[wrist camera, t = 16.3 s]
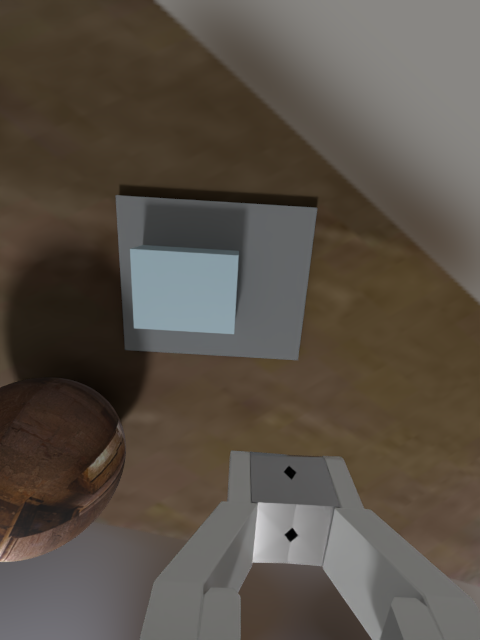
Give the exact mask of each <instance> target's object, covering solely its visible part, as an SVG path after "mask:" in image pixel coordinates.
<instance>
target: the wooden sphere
mask: <svg viewBox="0 0 480 640" xmlns="http://www.w3.org/2000/svg"><path fill="white" fill-rule="evenodd" d="M125 454H126V443H125V435H124V430H123V427H122V424H121V421H120V419H119V417H118V415H117V413H116V411H115V410H114V408H113V407H112V406H111V404H110V403H109V402H108V401H107V400H106V399H105V398H104V397H103V396H102V395H101V394H99V393H98V392H97V391H95V390H94V389H92V388H90V387H88V386H86V385H84V384H82V383H79V382H76V381H73V380H69V379H64V378H55V377H41V378H32V379H26V380H22V381H18V382H14V383H11V384H8V385H6V386H3V387H1V388H0V562H11V561H20V560H25V559H30V558H34V557H37V556H40V555H43V554H45V553H48V552H50V551H52V550H55V549H57V548H59V547H61V546H62V545H64V544H66V543H67V542H69V541H70V540H72V539H73V538H75V537H76V536H78V535H79V534H80V533H81V532H83V531H84V530H85V529H86V528H87V527H88V526H89V525H90V524H91V523H92V522H93V521H94V520H95V519H96V518H97V517H98V516H99V515H100V514H101V512H102V511H103V510H104V508H105V507H106V506H107V504H108V503H109V501H110V499H111V498H112V496H113V494H114V492H115V490H116V488H117V486H118V484H119V481H120V478H121V475H122V472H123V468H124V463H125Z"/></svg>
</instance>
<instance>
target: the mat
mask: <svg viewBox="0 0 480 640" xmlns="http://www.w3.org/2000/svg"><path fill="white" fill-rule="evenodd" d="M116 210H117V226H118V243H119V259H120V276H121V292H122V308H123V325H124V341H125V350H134V351H151V352H168V353H185V354H202V355H219V356H236V357H253V358H270V359H287V360H298V355H299V347H300V339H301V331H302V324H303V316H304V308H305V300H306V292H307V284H308V277H309V269H310V261H311V253H312V245H313V237H314V230H315V222H316V214H317V208H313V207H297V206H280V205H264V204H248V203H232V202H216V201H200V200H183V199H167V198H151V197H135V196H119V195H116ZM141 245H151V246H168V247H184V248H201V249H217V250H233V251H239V263H238V281H237V298H236V316H235V330H234V334H222V333H205V332H188V331H171V330H154V329H137V328H134V320H133V300H132V280H131V260H130V249H131V248H135V247H138V246H141Z"/></svg>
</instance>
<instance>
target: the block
mask: <svg viewBox="0 0 480 640" xmlns="http://www.w3.org/2000/svg"><path fill="white" fill-rule="evenodd" d="M130 260H131V280H132V300H133V320H134V328H137V329H154V330H171V331H188V332H205V333H222V334H234V330H235V316H236V298H237V281H238V263H239V251H233V250H217V249H201V248H184V247H168V246H151V245H141V246H138V247H135V248H131V249H130Z"/></svg>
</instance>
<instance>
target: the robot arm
mask: <svg viewBox="0 0 480 640" xmlns="http://www.w3.org/2000/svg"><path fill="white" fill-rule="evenodd" d="M252 562H258V563H291V564H304V565H315V566H323V569H324V571H325V572H326V574H327V575H328V577H329V578H330V579H331V581H332V582H333V584H334V585H335V587H336V588H337V589H338V591H339V592H340V594H341V595H342V597H343V598H344V599H345V601H346V602H347V604H348V605H349V607H350V608H351V610H352V611H353V612H354V614H355V615H356V616H357V618H358V620H359V621H360V622H361V624H362V625H363V627H364V628H365V630H366V631H367V633H368V634H369V635H370V637H371V638H372V640H480V610H479V608H478V607H477V605H476V604H475V602H474V600H473V599H472V598H471V597H470V596H469V595H467V594H466V593H465V592H464V591H463V590H462V589H461V588H459V587H458V586H457V585H456V584H455V583H454V582H452V581H451V580H450V579H449V578H448V577H447V576H446V575H445V574H443V573H442V572H441V571H440V570H439V569H438V568H437V567H435V566H434V565H433V564H432V563H431V562H430V561H429V560H427V559H426V558H425V557H424V556H423V555H422V554H421V553H419V552H418V551H417V550H416V549H415V548H414V547H413V546H411V545H410V544H409V543H408V542H407V541H406V540H405V539H403V538H402V537H401V536H400V535H399V534H398V533H397V532H395V531H394V530H393V529H392V528H391V527H390V526H389V525H387V524H386V523H385V522H384V521H383V520H382V519H381V518H379V517H378V516H377V515H376V514H375V513H374V512H373V511H371V510H368V509H364V507H363V505H362V502H361V500H360V497H359V495H358V493H357V490H356V488H355V485H354V483H353V481H352V478H351V476H350V473H349V471H348V469H347V466H346V464H345V461H344V459H343V458H342V457H334V456H322V457H321V456H302V455H284V454H271V453H259V452H250V454H249V452H242V451H231V453H230V466H229V482H228V499H227V502H221V503H220V504H219V505H218V506H217V508H216V509H215V510H214V511H213V512H212V513H211V515H210V516H209V517H208V518H207V519H206V521H205V522H204V523H203V524H202V525H201V527H200V528H199V529H198V530H197V531H196V532H195V534H194V535H193V536H192V537H191V538H190V540H189V541H188V542H187V543H186V544H185V546H184V547H183V548H182V549H181V550H180V551H179V553H178V554H177V555H176V556H175V557H174V559H173V560H172V561H171V562H170V563H169V565H168V566H167V567H166V568H165V569H164V570H163V572H162V573H161V574H160V575H159V576H158V578H157V579H156V580H155V581H154V584H153V588H152V592H151V596H150V600H149V604H148V609H147V612H146V616H145V621H144V624H143V628H142V632H141V636H140V640H241V639H240V638H241V636H240V635H241V632H240V631H241V630H240V629H241V624H240V623H241V616H240V615H241V609H240V608H241V606H240V605H241V599H240V598H241V597H240V595H239V594H238V591H239V589H240V587H241V585H242V583H243V581H244V579H245V578H246V576H247V574H248V572H249V570H250V568H251V566H252Z"/></svg>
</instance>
